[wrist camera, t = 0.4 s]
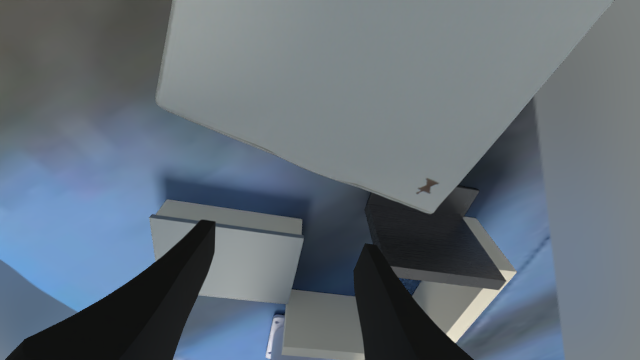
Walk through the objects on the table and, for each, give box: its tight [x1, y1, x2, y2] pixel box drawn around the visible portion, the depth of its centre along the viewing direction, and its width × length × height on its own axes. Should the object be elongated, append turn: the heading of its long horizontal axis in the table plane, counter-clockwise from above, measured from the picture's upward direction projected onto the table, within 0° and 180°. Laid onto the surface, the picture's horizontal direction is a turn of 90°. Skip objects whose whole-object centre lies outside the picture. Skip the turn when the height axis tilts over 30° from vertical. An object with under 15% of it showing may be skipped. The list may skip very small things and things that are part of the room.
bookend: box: [365, 186, 506, 290], centre depth 21 cm, size 4×9×7 cm, turn 78°
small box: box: [155, 0, 615, 214], centre depth 11 cm, size 8×6×13 cm
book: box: [149, 199, 304, 304], centre depth 26 cm, size 9×12×3 cm
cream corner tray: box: [281, 217, 517, 360], centre depth 26 cm, size 14×15×6 cm
